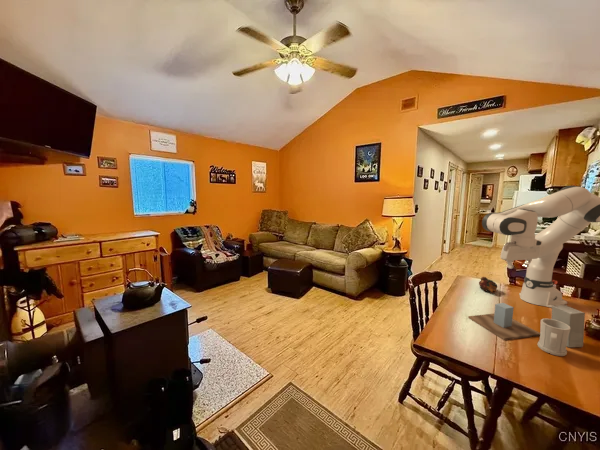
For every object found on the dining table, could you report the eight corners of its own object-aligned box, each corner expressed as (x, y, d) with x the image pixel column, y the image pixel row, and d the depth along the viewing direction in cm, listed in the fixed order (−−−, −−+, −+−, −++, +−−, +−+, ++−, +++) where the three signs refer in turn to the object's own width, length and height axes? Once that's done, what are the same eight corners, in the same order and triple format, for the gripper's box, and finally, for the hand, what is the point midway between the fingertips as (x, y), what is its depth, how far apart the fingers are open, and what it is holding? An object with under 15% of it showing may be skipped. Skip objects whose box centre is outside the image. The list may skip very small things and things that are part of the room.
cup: (576, 360, 100) (580, 333, 98) (549, 357, 101) (553, 330, 100) (555, 344, 110) (559, 319, 108) (531, 342, 112) (534, 317, 110)
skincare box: (583, 347, 107) (588, 313, 105) (566, 348, 107) (571, 313, 105) (562, 336, 115) (567, 304, 113) (547, 336, 116) (551, 304, 113)
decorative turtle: (487, 286, 173) (489, 275, 172) (502, 297, 159) (504, 285, 157) (472, 285, 174) (474, 274, 173) (486, 296, 160) (488, 284, 158)
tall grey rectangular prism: (501, 321, 127) (503, 302, 126) (511, 326, 123) (513, 307, 121) (493, 322, 126) (495, 304, 125) (503, 327, 122) (505, 308, 120)
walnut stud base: (500, 314, 136) (502, 302, 135) (540, 335, 116) (542, 322, 115) (468, 317, 133) (469, 306, 132) (503, 340, 113) (505, 326, 112)
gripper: (511, 243, 119) (507, 271, 122) (545, 241, 123) (540, 268, 126) (498, 240, 126) (495, 266, 128) (531, 239, 129) (527, 264, 132)
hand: (518, 267), depth 127 cm, fingers open, 8 cm apart
